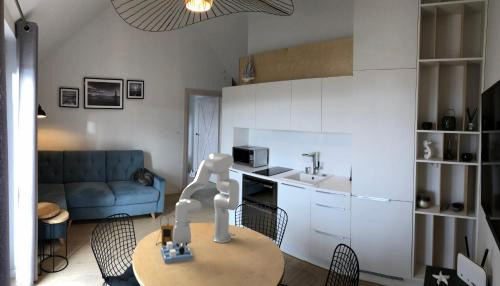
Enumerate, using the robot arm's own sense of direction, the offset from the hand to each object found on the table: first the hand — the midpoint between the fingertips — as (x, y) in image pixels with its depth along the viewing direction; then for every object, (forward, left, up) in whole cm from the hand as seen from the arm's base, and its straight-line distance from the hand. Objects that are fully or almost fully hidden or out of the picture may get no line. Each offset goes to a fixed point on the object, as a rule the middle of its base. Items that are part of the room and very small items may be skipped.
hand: (181, 253), depth 189 cm
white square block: (+5, 0, -1) cm, 5 cm away
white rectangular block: (-2, -6, -1) cm, 6 cm away
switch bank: (+2, -6, -3) cm, 7 cm away
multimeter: (+3, -26, -3) cm, 26 cm away
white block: (+5, -12, -1) cm, 13 cm away
